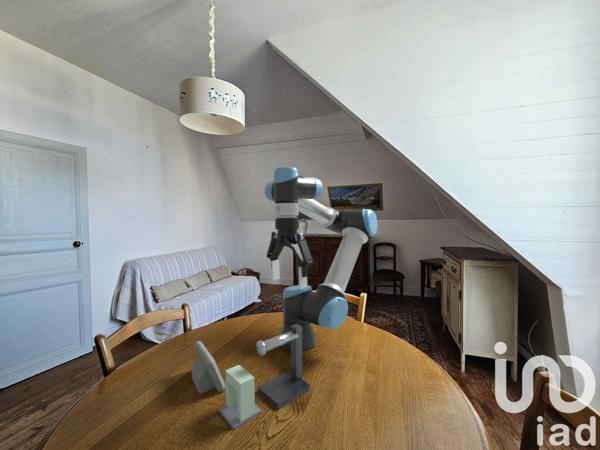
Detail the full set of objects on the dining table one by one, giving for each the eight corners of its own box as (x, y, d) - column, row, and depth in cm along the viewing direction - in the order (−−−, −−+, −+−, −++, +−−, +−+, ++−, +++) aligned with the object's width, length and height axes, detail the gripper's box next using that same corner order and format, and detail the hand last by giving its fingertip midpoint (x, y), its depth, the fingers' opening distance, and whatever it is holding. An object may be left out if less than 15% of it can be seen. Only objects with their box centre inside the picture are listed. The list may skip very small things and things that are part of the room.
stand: (250, 394, 76) (250, 333, 76) (289, 374, 86) (289, 320, 86) (271, 413, 69) (270, 345, 68) (310, 389, 79) (310, 329, 78)
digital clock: (226, 393, 77) (226, 357, 77) (193, 402, 73) (192, 364, 73) (219, 365, 92) (219, 335, 92) (191, 371, 88) (191, 340, 88)
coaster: (219, 411, 70) (219, 408, 70) (245, 397, 75) (245, 394, 75) (233, 429, 64) (233, 426, 64) (261, 413, 69) (261, 410, 69)
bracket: (226, 404, 71) (225, 370, 71) (239, 398, 74) (238, 364, 74) (240, 421, 65) (240, 384, 65) (254, 413, 68) (254, 377, 68)
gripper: (255, 217, 90) (257, 278, 91) (305, 217, 72) (307, 294, 73) (272, 216, 95) (274, 274, 96) (324, 216, 77) (325, 288, 78)
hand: (288, 283), depth 85 cm, fingers open, 13 cm apart
